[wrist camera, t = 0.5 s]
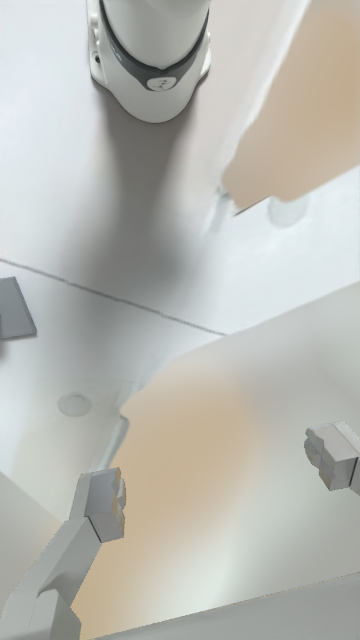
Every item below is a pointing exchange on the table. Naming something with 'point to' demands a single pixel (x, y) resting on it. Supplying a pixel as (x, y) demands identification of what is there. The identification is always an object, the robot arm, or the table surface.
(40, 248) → the table surface
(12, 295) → the post stand
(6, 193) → the table surface
